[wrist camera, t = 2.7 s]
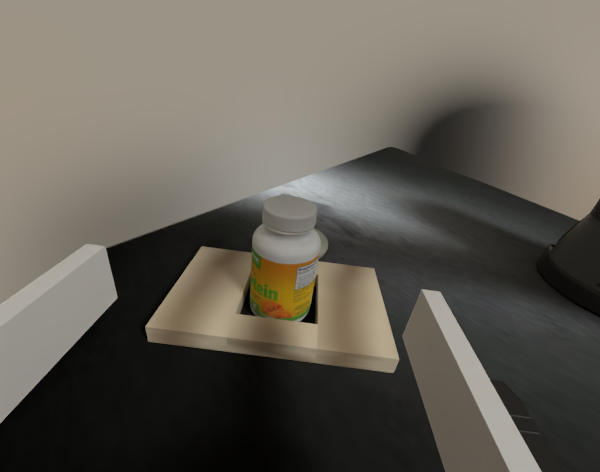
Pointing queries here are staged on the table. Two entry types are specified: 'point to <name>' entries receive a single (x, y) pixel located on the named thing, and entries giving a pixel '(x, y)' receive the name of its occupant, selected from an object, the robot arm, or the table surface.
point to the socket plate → (274, 332)
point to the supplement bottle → (284, 259)
